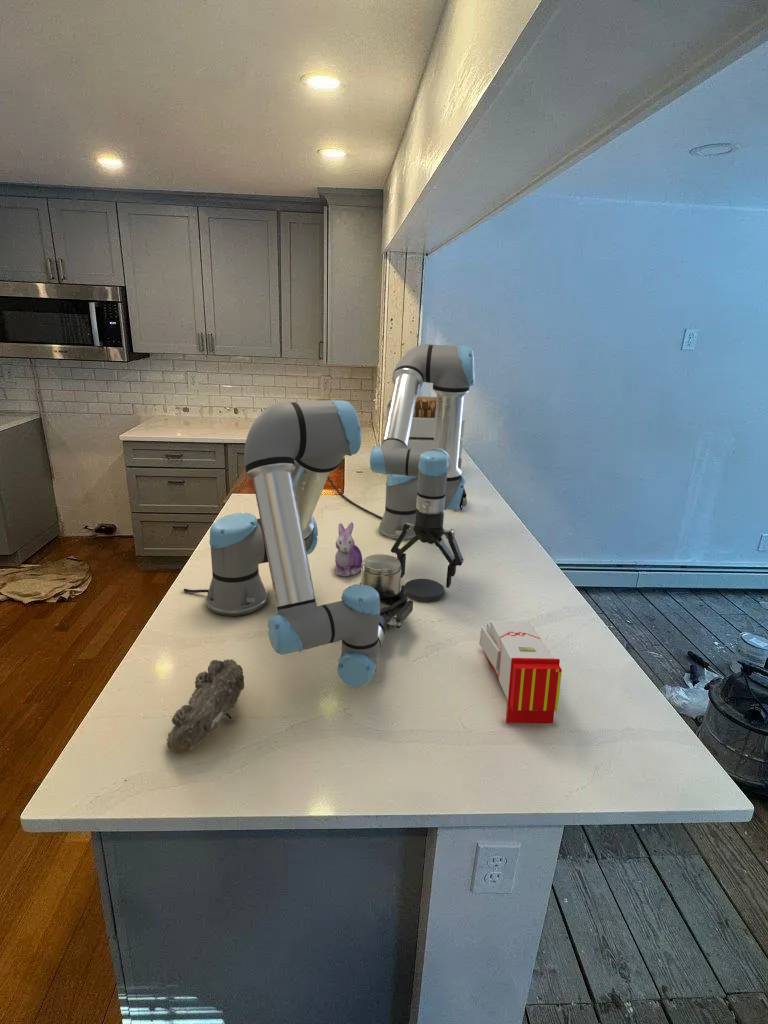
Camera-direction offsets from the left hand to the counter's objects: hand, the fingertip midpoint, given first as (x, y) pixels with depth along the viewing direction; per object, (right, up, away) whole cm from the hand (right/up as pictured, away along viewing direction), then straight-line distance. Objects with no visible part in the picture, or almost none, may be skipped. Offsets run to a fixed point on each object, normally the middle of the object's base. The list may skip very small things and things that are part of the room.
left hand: (382, 587), depth 147 cm
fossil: (-32, -20, -39) cm, 54 cm away
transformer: (+18, +38, +128) cm, 135 cm away
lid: (+12, -2, +12) cm, 17 cm away
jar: (-1, -8, -2) cm, 8 cm away
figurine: (-10, +2, +24) cm, 26 cm away
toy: (+28, -17, -24) cm, 41 cm away
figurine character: (+30, +22, +84) cm, 92 cm away
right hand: (+12, 0, +12) cm, 17 cm away
